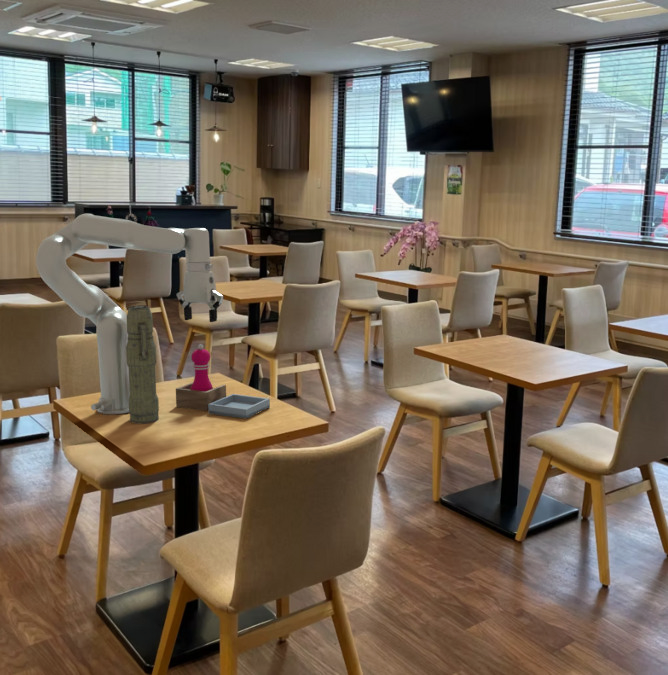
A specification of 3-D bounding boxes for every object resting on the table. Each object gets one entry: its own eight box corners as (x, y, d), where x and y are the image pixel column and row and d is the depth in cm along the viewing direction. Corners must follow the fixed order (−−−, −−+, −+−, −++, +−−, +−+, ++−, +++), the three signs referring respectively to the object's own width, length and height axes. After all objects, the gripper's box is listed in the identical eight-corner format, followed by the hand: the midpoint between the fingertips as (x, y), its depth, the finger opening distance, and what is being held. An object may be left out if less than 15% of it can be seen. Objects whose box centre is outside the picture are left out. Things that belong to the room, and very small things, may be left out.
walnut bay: (207, 411, 255) (206, 392, 254) (176, 406, 261) (175, 388, 260) (226, 402, 265) (225, 385, 264) (196, 398, 270) (195, 381, 269)
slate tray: (246, 418, 247) (246, 409, 246) (208, 413, 253) (208, 404, 252) (269, 407, 259) (269, 398, 259) (233, 402, 265) (232, 393, 265)
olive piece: (152, 412, 254) (147, 302, 247) (164, 422, 244) (159, 307, 237) (124, 416, 249) (118, 305, 243) (135, 426, 239) (130, 310, 233)
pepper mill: (186, 405, 261) (184, 345, 258) (198, 400, 268) (196, 341, 264) (206, 408, 259) (204, 347, 255) (217, 402, 265) (215, 343, 261)
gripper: (227, 267, 254) (229, 320, 258) (183, 265, 262) (185, 317, 265) (214, 269, 248) (216, 324, 251) (168, 267, 255) (171, 320, 259)
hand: (200, 320), depth 258 cm, fingers open, 9 cm apart
